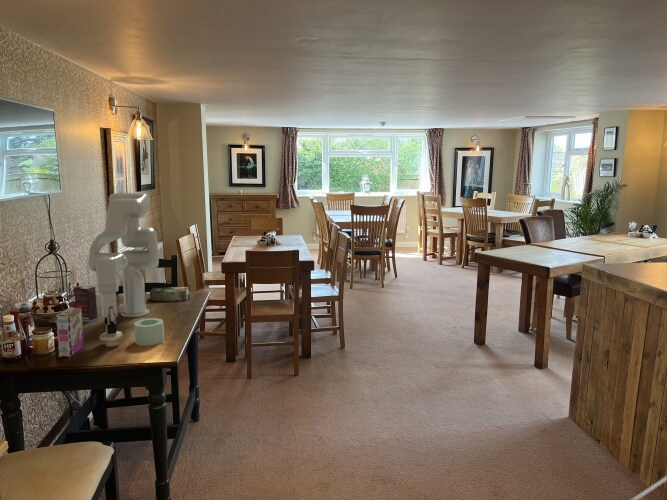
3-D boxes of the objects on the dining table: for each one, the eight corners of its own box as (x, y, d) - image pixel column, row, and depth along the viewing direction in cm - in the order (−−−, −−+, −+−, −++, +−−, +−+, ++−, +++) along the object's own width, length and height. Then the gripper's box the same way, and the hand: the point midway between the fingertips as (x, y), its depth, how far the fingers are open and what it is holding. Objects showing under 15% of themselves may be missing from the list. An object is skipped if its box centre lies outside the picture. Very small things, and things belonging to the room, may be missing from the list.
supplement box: (98, 319, 226) (95, 286, 223) (90, 322, 221) (87, 289, 219) (83, 317, 229) (81, 285, 226) (75, 320, 224) (72, 287, 222)
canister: (129, 344, 195) (128, 325, 194) (146, 335, 206) (145, 317, 204) (153, 347, 192) (152, 327, 191) (169, 337, 203) (168, 319, 202)
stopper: (98, 343, 196) (97, 323, 194) (121, 339, 200) (120, 320, 199) (101, 349, 189) (100, 329, 187) (124, 345, 193) (123, 326, 192)
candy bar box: (72, 357, 181) (68, 315, 178) (58, 357, 181) (54, 315, 178) (85, 346, 192) (81, 306, 189) (71, 346, 192) (68, 306, 189)
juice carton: (190, 295, 270) (189, 285, 269) (189, 300, 261) (189, 289, 260) (152, 298, 266) (151, 287, 265) (150, 303, 256) (149, 291, 255)
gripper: (94, 284, 196) (97, 326, 199) (100, 293, 181) (103, 338, 184) (114, 282, 200) (117, 323, 203) (121, 291, 185) (124, 335, 188)
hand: (110, 330), depth 194 cm, fingers open, 7 cm apart
